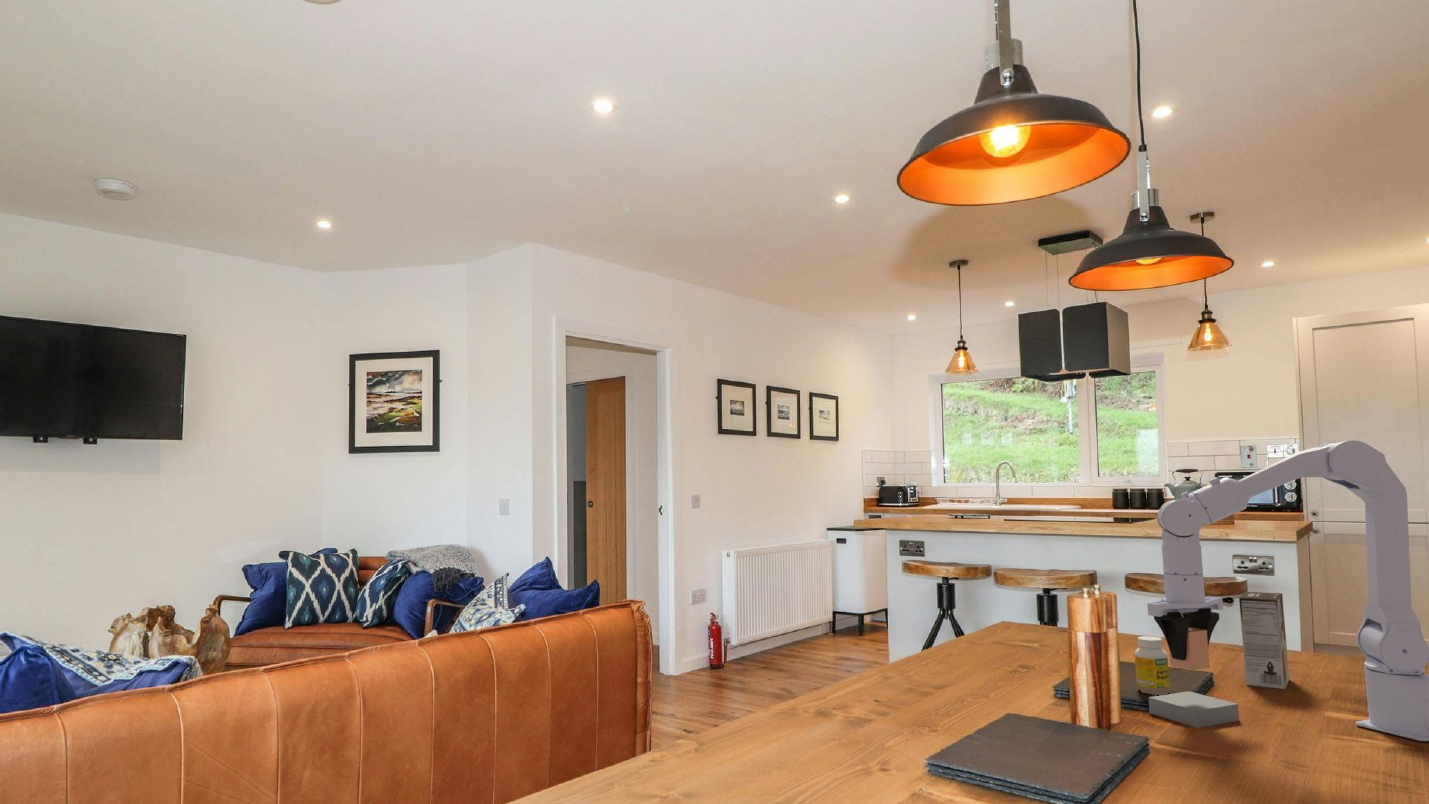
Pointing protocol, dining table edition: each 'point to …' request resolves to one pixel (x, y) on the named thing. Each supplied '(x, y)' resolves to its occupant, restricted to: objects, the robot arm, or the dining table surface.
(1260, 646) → the coffee box
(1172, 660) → the terracotta block
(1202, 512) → the robot arm
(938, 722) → the dining table surface
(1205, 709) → the slate block
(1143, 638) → the supplement bottle
